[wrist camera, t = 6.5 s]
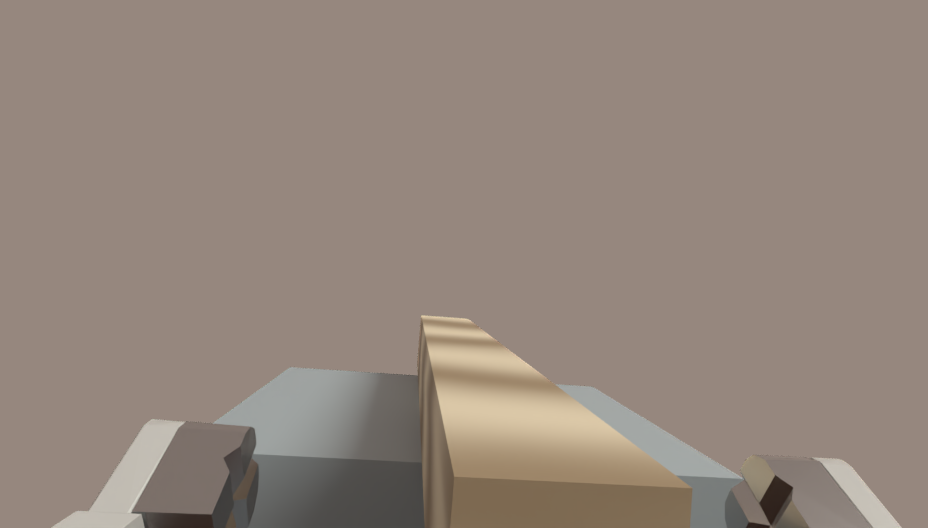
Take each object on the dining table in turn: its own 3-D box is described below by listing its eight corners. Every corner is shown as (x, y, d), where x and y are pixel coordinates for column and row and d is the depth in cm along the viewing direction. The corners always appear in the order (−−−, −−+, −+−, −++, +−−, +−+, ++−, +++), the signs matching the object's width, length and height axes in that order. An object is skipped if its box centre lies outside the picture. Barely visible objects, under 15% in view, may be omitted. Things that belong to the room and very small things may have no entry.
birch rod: (676, 733, 6) (693, 488, 6) (433, 731, 5) (454, 476, 6) (464, 365, 30) (467, 318, 30) (417, 362, 29) (421, 315, 29)
